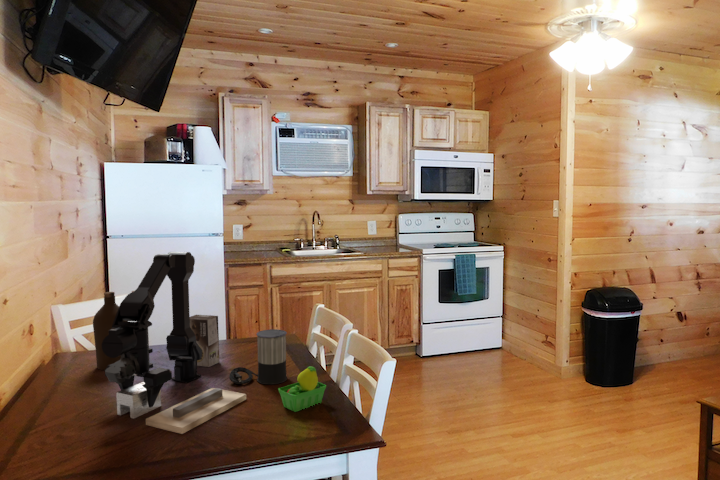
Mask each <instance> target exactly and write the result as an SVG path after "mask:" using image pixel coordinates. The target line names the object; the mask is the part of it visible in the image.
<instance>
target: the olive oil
mask: <svg viewBox="0 0 720 480" xmlns="http://www.w3.org/2000/svg"><path fill="white" fill-rule="evenodd" d="M115 294H116V293H115V291H106V292H104V293H103V303H104V304H103V305H102V307H100V309H99V310H97V312H95V315H94V317H93V320H92V327H93V329H92V330H93V338H94V339H93V340H94V346H95V347H94V348H95V356H96V357H95V358H96V368H97V370H101V371H105V369H106V367H107V366H108V365H110V364H113V363H115V362H117V361H119V360H120V359H121V355H120V356H118V357H116V358H110V357H108V356H106V355H105V354H104V352H103V350H102V342H103V340H104V338H105V337H106V336H108V335H109V330H111V329H116V328H112V324H113V322H114V319H115V316H116V314H117V311H118V308H119V306H120V305H118V304H117V303H116V296H115ZM122 322H129V321H124V320H123V321H122Z"/></svg>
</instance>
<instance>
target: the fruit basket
mask: <svg viewBox="0 0 720 480" xmlns="http://www.w3.org/2000/svg"><path fill="white" fill-rule="evenodd" d="M296 381H297V382H295V383H292V384H288V385H285V386H282V387H278V388H277V390H278V393H279V395H280V398H281V402H282V404H283V408H286V409H288V410H289V411H292V412H294V413H296V412H299V411H302V409H303V410H306V409H308V408H311V407H310V406H312V407H314V406H316V405H315V404H317V405H319V404H318V403H320V404H322V400H323V397H324V393H325V391H326V388H327V385H326V384H324V383H323V382H319V378H318V374H317V369H316V367H314V366H311V365H310V366H307V368H305V369H304V370H303V371H301V372H300V373H299V374H298V375H297V379H296ZM313 405H314V406H313ZM305 408H306V409H305Z"/></svg>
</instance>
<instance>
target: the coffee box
mask: <svg viewBox="0 0 720 480" xmlns="http://www.w3.org/2000/svg"><path fill="white" fill-rule="evenodd" d="M190 328H191V329H192V331H193V332H194V334H195V335H196V342H197V344H198V345H199V347H200V348H201V349H202V357H201V359H200V360H197V367H206V368H207V367H208V368H211V367H212V366H214V365H216V364H218V363H220V340H219V339H220V338H219V334H220V333H219V316H218V315H211V314H194V315H191V316H190Z"/></svg>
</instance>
